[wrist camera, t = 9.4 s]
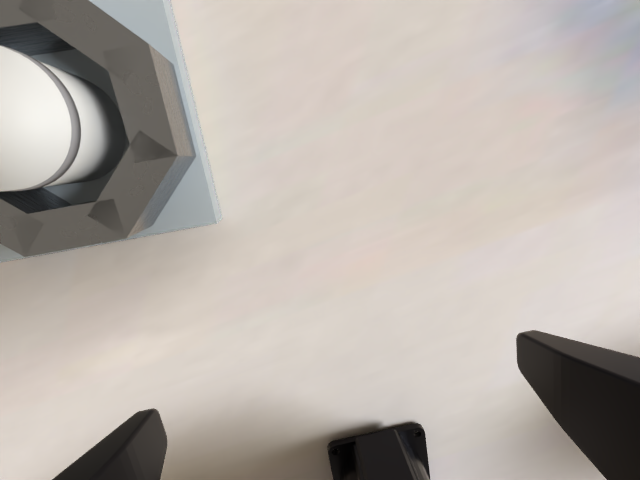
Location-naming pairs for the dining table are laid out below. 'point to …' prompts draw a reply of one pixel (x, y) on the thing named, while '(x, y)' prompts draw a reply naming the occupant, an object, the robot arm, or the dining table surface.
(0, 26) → the steel ring
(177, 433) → the dining table surface
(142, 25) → the piston base
